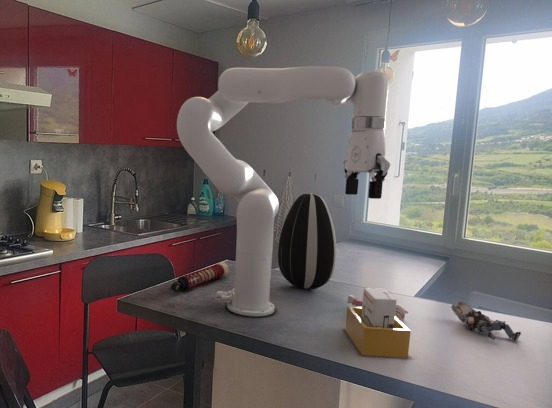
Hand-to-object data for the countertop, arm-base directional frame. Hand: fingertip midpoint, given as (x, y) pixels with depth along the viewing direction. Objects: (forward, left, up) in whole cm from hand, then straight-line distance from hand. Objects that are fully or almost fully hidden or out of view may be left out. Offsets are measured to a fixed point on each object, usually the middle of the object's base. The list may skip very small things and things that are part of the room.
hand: (362, 196), depth 111 cm
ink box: (+2, -12, -32) cm, 35 cm away
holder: (+2, -12, -32) cm, 34 cm away
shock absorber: (-39, +27, -32) cm, 57 cm away
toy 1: (+8, +6, -32) cm, 34 cm away
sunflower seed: (-7, +29, -32) cm, 44 cm away
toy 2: (+32, 0, -32) cm, 45 cm away
